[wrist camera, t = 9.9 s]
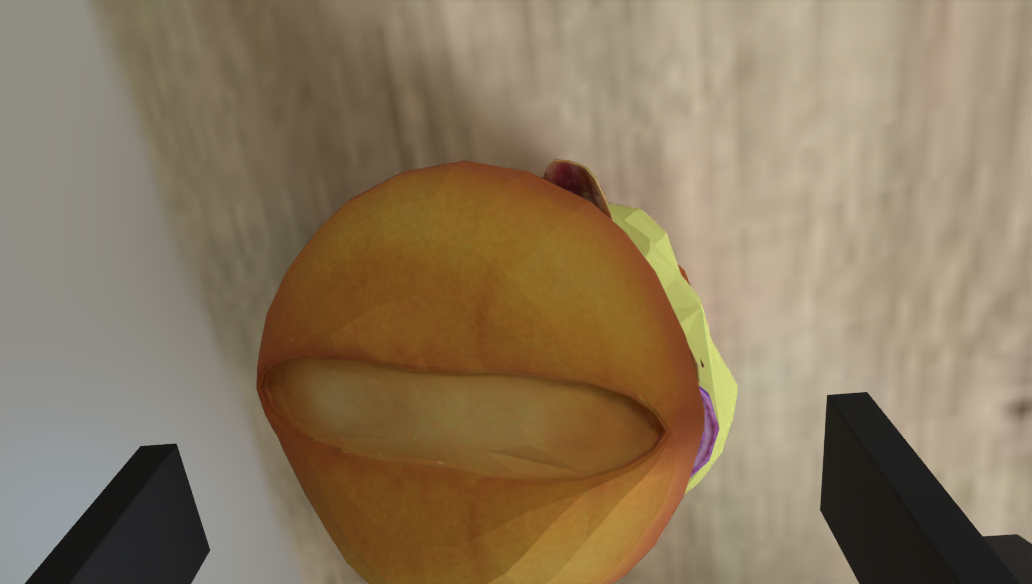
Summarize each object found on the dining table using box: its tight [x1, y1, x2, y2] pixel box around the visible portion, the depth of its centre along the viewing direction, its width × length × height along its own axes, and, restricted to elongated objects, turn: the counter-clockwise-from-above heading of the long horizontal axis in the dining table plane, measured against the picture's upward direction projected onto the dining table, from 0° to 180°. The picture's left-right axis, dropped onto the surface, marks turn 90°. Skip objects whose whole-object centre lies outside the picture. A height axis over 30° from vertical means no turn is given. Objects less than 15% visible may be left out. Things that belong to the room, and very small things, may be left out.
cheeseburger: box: [257, 159, 738, 584], centre depth 18 cm, size 10×11×10 cm
